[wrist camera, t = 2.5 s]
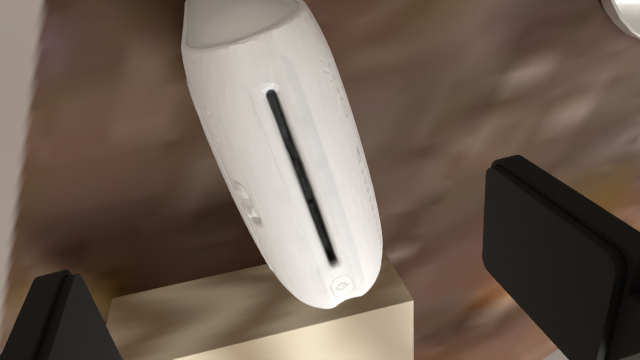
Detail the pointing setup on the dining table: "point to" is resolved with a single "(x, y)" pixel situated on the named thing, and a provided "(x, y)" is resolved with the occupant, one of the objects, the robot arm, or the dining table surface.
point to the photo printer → (285, 143)
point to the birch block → (262, 321)
